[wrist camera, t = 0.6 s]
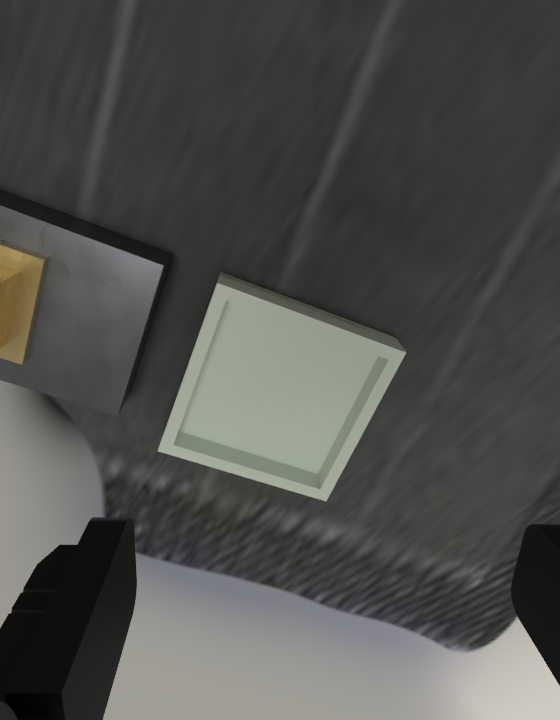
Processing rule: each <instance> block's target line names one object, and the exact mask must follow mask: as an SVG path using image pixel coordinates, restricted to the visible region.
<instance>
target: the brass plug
mask: <svg viewBox="0 0 560 720" xmlns="http://www.w3.org/2000/svg"><path fill="white" fill-rule="evenodd" d="M47 263H48V258H47V257H44V256H42V255H39V254H36V253H33V252H30V251H28V250H25V249H22V248H19V247H16V246H13V245H11V244H8V243H5V242H2V241H0V358H2V359H6V360H9V361H12V362H15V363H18V364H21V365H22V364H24V363H25V362H26V361H27V357H28V352H29V348H30V343H31V338H32V333H33V329H34V324H35V319H36V315H37V310H38V305H39V300H40V296H41V291H42V286H43V282H44V277H45V272H46V267H47Z"/></svg>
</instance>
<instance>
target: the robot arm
mask: <svg viewBox="0 0 560 720" xmlns="http://www.w3.org/2000/svg"><path fill="white" fill-rule="evenodd" d="M136 588H137V577H136V558H135V540H134V525H133V520H132V518H92V519H91V520H90V521H89V523H88V525H87V527H86V529H85V531H84V533H83V535H82V537H81V539H80V541H79V543H78V545H59V546H58V547H57V548H56V549H55V550H54V551H52V552H51V553H50V554H49V555H48V556H46V557H45V558H44V559H43V560H42V561H41V562H40V563H38V564H37V566H36V568H35V569H34V571H33V573H32V574H31V576H30V578H29V580H28V581H27V583H26V585H25V587H24V590H23V593H21V594H20V595H19V597H18V599H17V600H16V602H15V604H14V606H13V607H12V612H11V614H8V616H7V618H6V620H5V621H4V623H3V625H2V627H1V628H0V720H103V716H104V713H105V709H106V706H107V702H108V699H109V695H110V692H111V688H112V685H113V681H114V678H115V674H116V671H117V667H118V664H119V661H120V657H121V654H122V650H123V646H124V643H125V640H126V636H127V633H128V629H129V625H130V622H131V619H132V615H133V610H134V605H135V599H136ZM511 596H512V602H513V606H514V609H515V612H516V614H517V616H518V618H519V620H520V621H521V623H522V624H523V626H524V628H525V629H526V631H527V633H528V634H529V636H530V638H531V639H532V641H533V643H534V644H535V646H536V647H537V649H538V651H539V652H540V654H541V656H542V657H543V659H544V661H545V662H546V664H547V666H548V667H549V669H550V670H551V672H552V674H553V675H554V677H555V679H556V680H557V682H558V683H559V685H560V525H551V524H532V525H529V526H528V527H527V528H526V530H525V533H524V536H523V540H522V544H521V548H520V552H519V556H518V560H517V564H516V568H515V572H514V575H513V579H512V584H511Z"/></svg>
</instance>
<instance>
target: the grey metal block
mask: <svg viewBox="0 0 560 720" xmlns="http://www.w3.org/2000/svg"><path fill="white" fill-rule="evenodd" d="M0 241H2V242H5V243H8V244H11V245H13V246H16V247H19V248H22V249H25V250H28V251H30V252H33V253H36V254H39V255H42V256H44V257H47V258H48V263H47V267H46V272H45V277H44V282H43V286H42V291H41V296H40V300H39V305H38V310H37V315H36V319H35V324H34V329H33V333H32V338H31V343H30V348H29V352H28V357H27V361H26V362H25V363H24V364H22V365H21V364H18V363H15V362H12V361H9V360H6V359H2V358H0V380H2V381H6V382H9V383H12V384H16V385H19V386H22V387H25V388H28V389H32V390H35V391H38V392H41V393H45V394H48V395H51V396H54V397H58V398H61V399H64V400H67V401H71V402H74V403H77V404H80V405H84V406H87V407H90V408H93V409H97V410H100V411H103V412H106V413H110V414H113V415H116V416H118V415H119V413H120V411H121V409H122V407H123V405H124V403H125V401H126V399H127V397H128V395H129V393H130V390H131V387H132V384H133V380H134V377H135V374H136V371H137V368H138V364H139V361H140V358H141V355H142V351H143V348H144V345H145V342H146V339H147V335H148V332H149V329H150V326H151V322H152V319H153V316H154V313H155V310H156V306H157V303H158V300H159V297H160V293H161V290H162V287H163V284H164V281H165V277H166V274H167V271H168V268H169V264H170V261H171V258H172V255H173V254H172V253H169V252H166V251H163V250H161V249H158V248H155V247H153V246H150V245H147V244H145V243H142V242H139V241H137V240H134V239H131V238H129V237H126V236H123V235H121V234H118V233H115V232H113V231H110V230H107V229H105V228H102V227H99V226H97V225H94V224H91V223H89V222H86V221H83V220H81V219H78V218H75V217H73V216H70V215H67V214H65V213H62V212H59V211H57V210H54V209H51V208H49V207H46V206H43V205H41V204H38V203H35V202H33V201H30V200H27V199H25V198H22V197H19V196H17V195H14V194H11V193H9V192H6V191H3V190H1V189H0Z"/></svg>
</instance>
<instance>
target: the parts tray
mask: <svg viewBox="0 0 560 720" xmlns="http://www.w3.org/2000/svg"><path fill="white" fill-rule="evenodd" d="M405 354H406V352H405V350H404V349H403V347H402V346H401V344H400V343H399V341H398V340H397V338H396V337H393V336H390V335H388V334H385V333H382V332H380V331H377V330H374V329H372V328H369V327H366V326H364V325H361V324H358V323H356V322H353V321H350V320H348V319H345V318H342V317H340V316H337V315H334V314H332V313H329V312H326V311H324V310H321V309H318V308H316V307H313V306H310V305H308V304H305V303H302V302H300V301H297V300H294V299H292V298H289V297H286V296H284V295H281V294H278V293H276V292H273V291H270V290H268V289H265V288H262V287H260V286H257V285H254V284H252V283H249V282H246V281H244V280H241V279H238V278H236V277H233V276H230V275H228V274H225V273H222V272H220V275H219V278H218V281H217V284H216V286H215V289H214V292H213V295H212V298H211V300H210V303H209V306H208V309H207V312H206V315H205V317H204V320H203V323H202V326H201V329H200V332H199V334H198V337H197V340H196V343H195V346H194V349H193V351H192V354H191V357H190V360H189V363H188V366H187V368H186V371H185V374H184V377H183V380H182V383H181V385H180V388H179V391H178V394H177V397H176V400H175V402H174V405H173V408H172V411H171V414H170V416H169V419H168V422H167V425H166V428H165V431H164V434H163V437H162V440H161V443H160V446H159V449H158V451H159V452H163V453H166V454H169V455H173V456H176V457H179V458H183V459H186V460H189V461H193V462H196V463H199V464H203V465H206V466H209V467H213V468H216V469H219V470H223V471H226V472H229V473H233V474H236V475H239V476H243V477H246V478H250V479H253V480H256V481H260V482H263V483H266V484H270V485H273V486H276V487H280V488H283V489H286V490H290V491H293V492H296V493H300V494H303V495H306V496H310V497H313V498H316V499H320V500H323V501H327V499H328V497H329V495H330V493H331V492H332V490H333V488H334V486H335V484H336V482H337V480H338V479H339V477H340V475H341V473H342V471H343V469H344V467H345V466H346V464H347V462H348V460H349V458H350V456H351V454H352V453H353V451H354V449H355V447H356V445H357V443H358V441H359V440H360V438H361V436H362V434H363V432H364V430H365V428H366V427H367V425H368V423H369V421H370V419H371V417H372V415H373V414H374V412H375V410H376V408H377V406H378V404H379V402H380V401H381V399H382V397H383V395H384V393H385V391H386V389H387V388H388V386H389V384H390V382H391V380H392V378H393V376H394V375H395V373H396V371H397V369H398V367H399V365H400V363H401V362H402V360H403V358H404V356H405Z"/></svg>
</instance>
